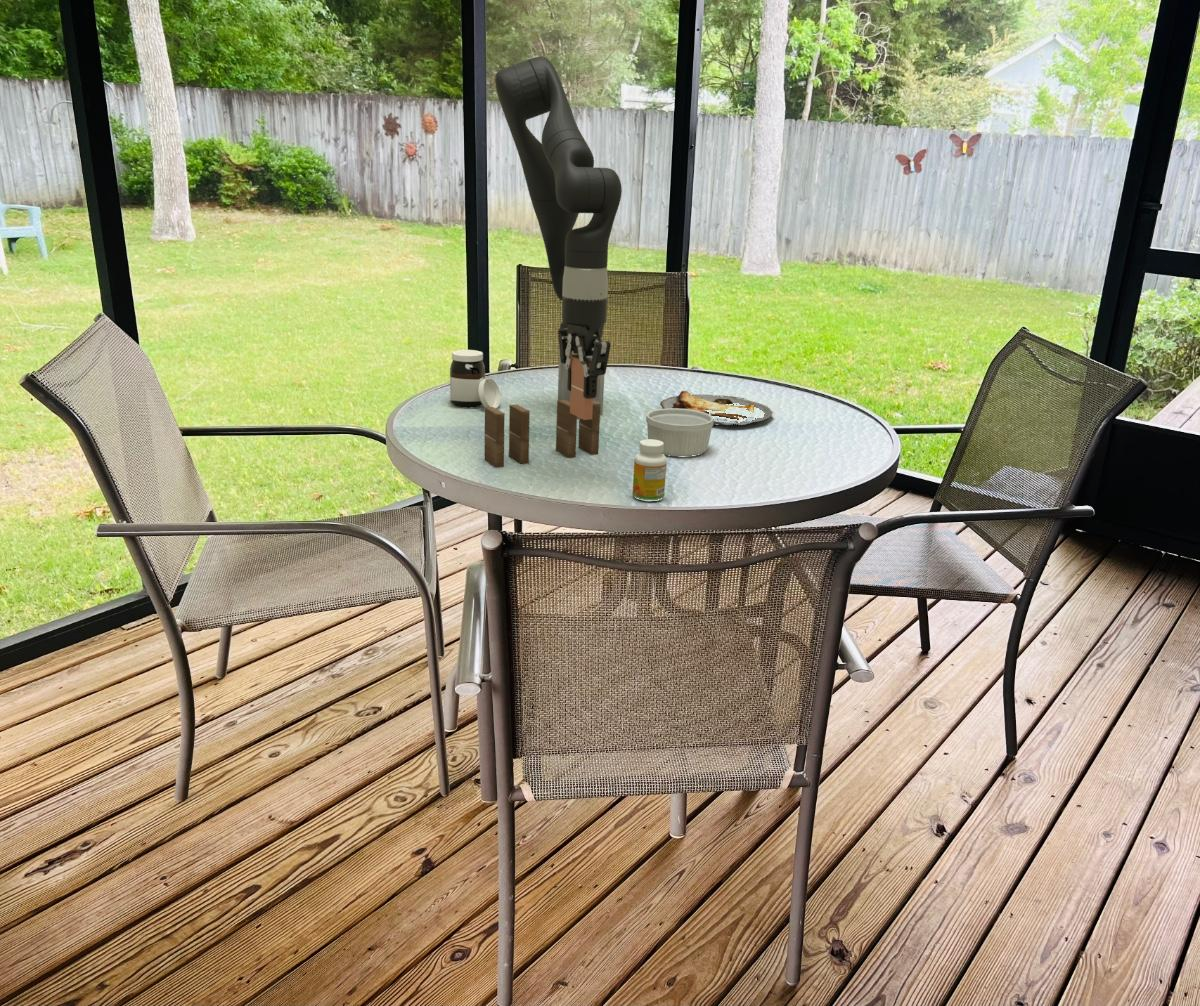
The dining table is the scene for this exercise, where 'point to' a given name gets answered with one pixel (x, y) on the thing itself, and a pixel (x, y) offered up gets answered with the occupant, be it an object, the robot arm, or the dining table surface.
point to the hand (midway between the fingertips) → (581, 393)
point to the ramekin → (680, 430)
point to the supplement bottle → (649, 471)
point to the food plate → (715, 405)
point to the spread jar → (471, 381)
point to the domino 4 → (579, 392)
